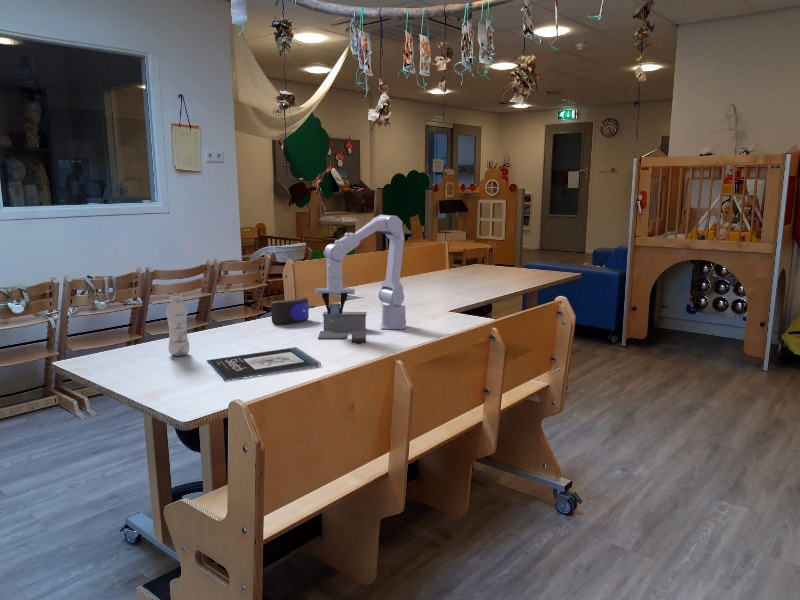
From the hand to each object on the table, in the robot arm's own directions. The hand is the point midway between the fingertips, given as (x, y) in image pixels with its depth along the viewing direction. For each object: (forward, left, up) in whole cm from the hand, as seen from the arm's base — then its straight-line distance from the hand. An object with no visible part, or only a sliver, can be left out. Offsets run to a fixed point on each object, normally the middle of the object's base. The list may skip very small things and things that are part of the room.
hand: (334, 313), depth 223 cm
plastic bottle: (+49, +26, -9) cm, 56 cm away
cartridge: (0, 0, -1) cm, 1 cm away
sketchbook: (+20, +36, -9) cm, 42 cm away
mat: (+1, 0, -8) cm, 9 cm away
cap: (-9, +9, -9) cm, 15 cm away
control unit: (-3, -9, -8) cm, 13 cm away
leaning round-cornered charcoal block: (+19, -22, -9) cm, 31 cm away
